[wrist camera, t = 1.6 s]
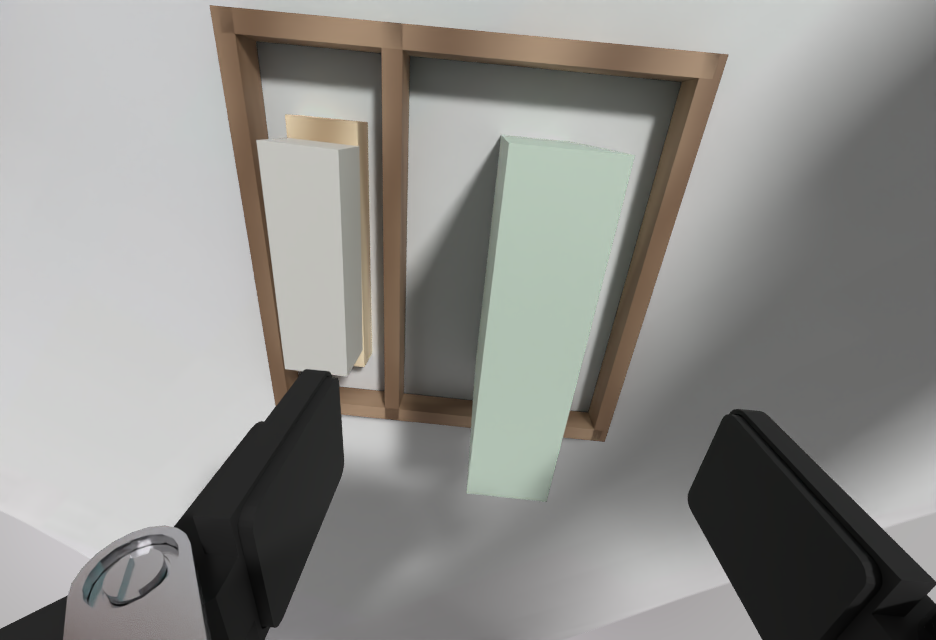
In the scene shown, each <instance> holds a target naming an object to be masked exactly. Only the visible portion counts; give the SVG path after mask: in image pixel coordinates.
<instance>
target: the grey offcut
mask: <svg viewBox="0 0 936 640" xmlns="http://www.w3.org/2000/svg"><path fill="white" fill-rule="evenodd" d="M256 141H257V149H258V157H259V165H260V173H261V181H262V189H263V197H264V205H265V213H266V221H267V229H268V237H269V245H270V253H271V261H272V269H273V277H274V285H275V293H276V301H277V309H278V317H279V325H280V333H281V341H282V349H283V357H284V365H285V369H289V370H297V371H304V370H305V369H311V370H322V371H329V372H331V375H338V376H346V377H347V376H348V375H349V373H350V371H351V369H352V368H353V366H354V364H355V362H356V361H357V359H358V357H359V356H360V354H361V352H362V350H363V333H362V273H361V216H360V159H359V146H353V145H345V144H336V143H328V142H319V141H311V140H302V139H294V138H279V139H265V140H256Z"/></svg>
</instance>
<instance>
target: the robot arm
mask: <svg viewBox="0 0 936 640" xmlns="http://www.w3.org/2000/svg"><path fill="white" fill-rule="evenodd" d="M343 468H344V452H343V436H342V420H341V405H340V389H339V380H338V378H332V375H331V372H329V371H322V370H311V369H305V370H304V371H303V372H302V373H301V374H300V375H299V377H298V378H297V379H296V381H295V382H294V383H293V385H292V386H291V387H290V389H289V390H288V391H287V392H286V394H285V395H284V396H283V398H282V399H281V400H280V402H279V403H278V404H277V406H276V407H275V408H274V410H273V411H272V412H271V414H270V415H269V416H268V418H267V419H266V420H265V421H264V422H262V421H261V422H258V423H256V424H255V425H254V426H253V427H252V428H251V429H250V431H249V432H248V433H247V435H246V436H245V437H244V438H243V440H242V441H241V442H240V443H239V445H238V446H237V447H236V449H235V450H234V451H233V452H232V454H231V455H230V456H229V457H228V459H227V460H226V461H225V463H224V464H223V465H222V466H221V468H220V469H219V470H218V471H217V473H216V474H215V475H214V477H213V478H212V479H211V480H210V482H209V483H208V484H207V485H206V487H205V488H204V489H203V491H202V492H201V493H200V494H199V496H198V497H197V498H196V499H195V501H194V502H193V503H192V505H191V506H190V507H189V508H188V510H187V511H186V512H185V513H184V515H183V516H182V517H181V519H180V520H179V521H178V522H177V524H176V525H175V526H174V527H170V526H156V527H148V528H145V529H142V530H138V531H135V532H132V533H130V534H128V535H126V536H124V537H122V538H120V539H118V540H116V541H114V542H112V543H111V544H110V545H108V546H107V547H105V548H104V549H103V550H101V551H100V552H98V553H97V554H96V555H95V556H94V557H93V558H92V559H91V560H90V561H89V562H88V563H87V564H86V565H85V566H84V567H83V568H82V569H81V571H80V572H79V573H78V575H77V576H76V578H75V579H74V581H73V583H72V584H71V588H70V591H69V594H68V596H66V597H64V598H62V599H60V600H58V601H56V602H54V603H52V604H50V605H47V606H46V607H43V608H41V609H39V610H37V611H35V612H33V613H31V614H29V615H27V616H25V617H23V618H21V619H19V620H17V621H15V622H13V623H11V624H9V625H7V626H5V627H3V628H1V629H0V640H265V637H266V635H267V633H268V630H269V628H270V627H274V628H275V627H277V626H279V624H280V622H281V621H282V619H283V616H284V614H285V612H286V609H287V607H288V604H289V602H290V600H291V597H292V595H293V592H294V590H295V587H296V585H297V583H298V580H299V578H300V575H301V573H302V571H303V568H304V566H305V563H306V561H307V558H308V556H309V554H310V551H311V549H312V546H313V544H314V541H315V539H316V537H317V534H318V532H319V529H320V527H321V525H322V522H323V520H324V517H325V515H326V512H327V510H328V508H329V505H330V503H331V500H332V498H333V495H334V493H335V491H336V488H337V486H338V483H339V481H340V479H341V476H342V472H343ZM688 504H689V507H690V509H691V511H692V513H693V515H694V517H695V519H696V520H697V522H698V524H699V526H700V528H701V529H702V531H703V533H704V535H705V537H706V538H707V540H708V542H709V544H710V546H711V548H712V549H713V551H714V553H715V555H716V557H717V558H718V560H719V562H720V564H721V566H722V567H723V569H724V571H725V573H726V575H727V576H728V578H729V580H730V582H731V584H732V586H733V587H734V589H735V591H736V593H737V595H738V596H739V598H740V600H741V602H742V603H743V605H744V607H745V609H746V611H747V613H748V615H749V616H750V618H751V620H752V622H753V624H754V625H755V627H756V629H757V631H758V633H759V634H760V636H761V638H762V640H936V604H935V603H934V602H933V601H932V600H931V599H930V598H929V597H928V596H927V594H928V593H929V592H930V591H931V589H932V588H933V587H934V586H935V585H936V582H935V580H933V578H931V576H930V575H928V574H927V573H926V572H925V571H924V570H923V569H922V568H921V567H920V566H919V565H918V564H917V563H916V562H915V561H914V560H913V559H912V558H911V557H910V556H909V555H908V554H907V553H906V552H905V551H904V550H903V549H902V548H901V547H900V546H899V545H898V544H897V543H896V542H895V541H894V540H893V539H892V538H891V537H890V536H889V535H888V534H887V533H886V532H885V531H884V530H883V529H882V528H881V527H880V526H879V525H878V524H877V523H876V522H875V521H874V520H873V519H872V518H871V517H870V516H869V515H868V514H867V513H866V512H865V511H864V510H863V509H862V508H861V507H860V506H859V505H858V504H857V503H856V502H855V501H854V500H853V499H852V498H851V497H850V496H849V495H848V494H847V493H846V492H845V491H844V490H843V489H842V488H841V487H840V486H839V485H838V484H837V483H836V482H835V481H834V480H832V479H831V478H830V477H829V476H828V475H827V474H826V473H825V472H824V471H823V470H822V469H821V468H820V467H819V466H818V465H817V464H816V463H815V462H814V461H813V460H812V459H811V458H810V457H809V456H808V455H807V454H806V453H805V452H804V451H803V450H802V449H801V448H800V447H799V446H798V445H797V444H796V443H795V442H794V441H793V440H792V439H791V438H790V437H789V436H788V435H787V434H786V433H785V432H784V431H783V430H782V429H781V428H780V427H779V426H778V425H777V424H776V423H775V422H774V421H773V420H772V419H771V418H770V417H769V416H768V415H767V414H765V413H764V412H761V411H752V410H741V409H735V410H733V411H731V412H730V414H729V415H725V416H724V417H723V419H722V421H721V423H720V425H719V427H718V430H717V432H716V434H715V436H714V438H713V440H712V443H711V445H710V447H709V449H708V451H707V453H706V456H705V458H704V460H703V462H702V464H701V466H700V469H699V471H698V473H697V475H696V477H695V480H694V482H693V484H692V486H691V488H690V490H689V493H688Z"/></svg>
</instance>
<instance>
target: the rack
mask: <svg viewBox="0 0 936 640" xmlns="http://www.w3.org/2000/svg"><path fill="white" fill-rule="evenodd" d="M210 11H211V17H212V23H213V29H214V35H215V41H216V47H217V53H218V59H219V65H220V71H221V77H222V83H223V90H224V96H225V102H226V108H227V114H228V120H229V126H230V132H231V138H232V144H233V150H234V156H235V162H236V168H237V174H238V180H239V187H240V193H241V199H242V205H243V211H244V217H245V223H246V229H247V235H248V241H249V247H250V253H251V259H252V265H253V271H254V278H255V284H256V290H257V296H258V302H259V308H260V314H261V320H262V326H263V332H264V338H265V344H266V350H267V356H268V362H269V368H270V375H271V381H272V387H273V393H274V399H275V405H276V406H277V404H278V403H279V402H280V400H281V399H282V398H283V396H284V395H285V394H286V392H287V391H288V390H289V389H290V387H291V386H292V385H293V383H294V382H295V381H296V379H297V378H298V377H299V376H298V371H297V370H289V369H285V365H284V357H283V349H282V341H281V333H280V325H279V317H278V309H277V301H276V293H275V285H274V277H273V269H272V261H271V253H270V245H269V237H268V229H267V221H266V213H265V205H264V197H263V189H262V181H261V173H260V165H259V157H258V149H257V141H256V140H265V139H268V132H267V124H266V116H265V108H264V100H263V92H262V85H261V77H260V69H259V61H258V53H257V45H256V41H259V42H270V43H280V44H291V45H301V46H312V47H322V48H332V49H343V50H353V51H364V52H374V53H382V158H383V264H384V371H385V391H376V390H366V389H356V388H347V387H339V389H340V405H341V414H343V415H353V416H362V417H372V418H381V419H391V420H401V421H410V422H420V423H429V424H439V425H449V426H458V427H468V428H471V420H472V405H473V401H472V400H462V399H453V398H443V397H433V396H424V395H414V394H405V393H404V362H405V304H406V247H407V190H408V133H409V76H410V56H416V57H426V58H437V59H447V60H458V61H468V62H479V63H489V64H500V65H510V66H521V67H531V68H541V69H552V70H562V71H573V72H583V73H594V74H604V75H615V76H625V77H635V78H646V79H656V80H667V81H677V82H682V83H681V86H680V90H679V93H678V97H677V101H676V104H675V108H674V111H673V115H672V118H671V122H670V125H669V129H668V132H667V136H666V139H665V143H664V146H663V150H662V154H661V157H660V161H659V164H658V168H657V171H656V175H655V178H654V182H653V185H652V189H651V192H650V196H649V199H648V203H647V207H646V210H645V214H644V217H643V221H642V224H641V228H640V231H639V235H638V238H637V242H636V245H635V249H634V253H633V256H632V260H631V263H630V267H629V270H628V274H627V277H626V281H625V284H624V288H623V291H622V295H621V298H620V302H619V306H618V309H617V313H616V316H615V320H614V323H613V327H612V330H611V334H610V337H609V341H608V344H607V348H606V351H605V355H604V359H603V362H602V366H601V369H600V373H599V376H598V380H597V383H596V387H595V390H594V394H593V397H592V401H591V404H590V408H589V412H578V411H570V412H569V416H568V420H567V424H566V427H565V431H564V435H563V437H564V438H573V439H583V440H593V441H602V442H605V439H606V436H607V433H608V430H609V427H610V423H611V420H612V417H613V414H614V411H615V408H616V405H617V402H618V398H619V395H620V392H621V389H622V386H623V383H624V380H625V377H626V373H627V370H628V367H629V364H630V361H631V358H632V355H633V352H634V348H635V345H636V342H637V339H638V336H639V333H640V330H641V327H642V323H643V320H644V317H645V314H646V311H647V308H648V305H649V302H650V298H651V295H652V292H653V289H654V286H655V283H656V280H657V277H658V273H659V270H660V267H661V264H662V261H663V258H664V255H665V252H666V248H667V245H668V242H669V239H670V236H671V233H672V230H673V227H674V223H675V220H676V217H677V214H678V211H679V208H680V205H681V202H682V198H683V195H684V192H685V189H686V186H687V183H688V180H689V177H690V173H691V170H692V167H693V164H694V161H695V158H696V155H697V152H698V148H699V145H700V142H701V139H702V136H703V133H704V130H705V127H706V123H707V120H708V117H709V114H710V111H711V108H712V105H713V102H714V98H715V95H716V92H717V89H718V86H719V83H720V80H721V77H722V74H723V70H724V67H725V64H726V61H727V58H728V55H727V54H717V53H706V52H696V51H685V50H675V49H664V48H654V47H643V46H633V45H622V44H612V43H601V42H591V41H580V40H570V39H559V38H549V37H538V36H527V35H517V34H506V33H496V32H485V31H475V30H464V29H454V28H443V27H433V26H422V25H412V24H401V23H391V22H380V21H370V20H359V19H349V18H338V17H327V16H317V15H306V14H296V13H285V12H275V11H264V10H254V9H243V8H233V7H222V6H212V5H210Z"/></svg>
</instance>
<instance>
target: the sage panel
mask: <svg viewBox="0 0 936 640" xmlns="http://www.w3.org/2000/svg"><path fill="white" fill-rule="evenodd" d="M634 158H635V155H631V154H626V153H621V152H616V151H612V150H607V149H602V148H597V147H592V146H588V145H583V144H578V143H573V142H568V141H558V140H547V139H537V138H527V137H516V136H506V135H501V140H500V149H499V158H498V167H497V176H496V185H495V194H494V203H493V211H492V220H491V229H490V238H489V247H488V256H487V265H486V274H485V282H484V291H483V300H482V309H481V318H480V327H479V336H478V345H477V353H476V362H475V376H474V390H473V405H472V420H471V434H470V449H469V464H468V478H467V494H477V495H486V496H495V497H505V498H514V499H524V500H533V501H542V502H547V498H548V494H549V490H550V486H551V482H552V478H553V474H554V470H555V467H556V463H557V459H558V455H559V451H560V447H561V443H562V439H563V435H564V431H565V427H566V424H567V420H568V416H569V412H570V408H571V404H572V400H573V396H574V392H575V388H576V384H577V380H578V377H579V373H580V369H581V365H582V361H583V357H584V353H585V349H586V345H587V341H588V337H589V334H590V330H591V326H592V322H593V318H594V314H595V310H596V306H597V302H598V298H599V294H600V291H601V287H602V283H603V279H604V275H605V271H606V267H607V263H608V259H609V255H610V251H611V248H612V244H613V240H614V236H615V232H616V228H617V224H618V220H619V216H620V212H621V208H622V204H623V201H624V197H625V193H626V189H627V185H628V181H629V177H630V173H631V169H632V165H633V161H634Z"/></svg>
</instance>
